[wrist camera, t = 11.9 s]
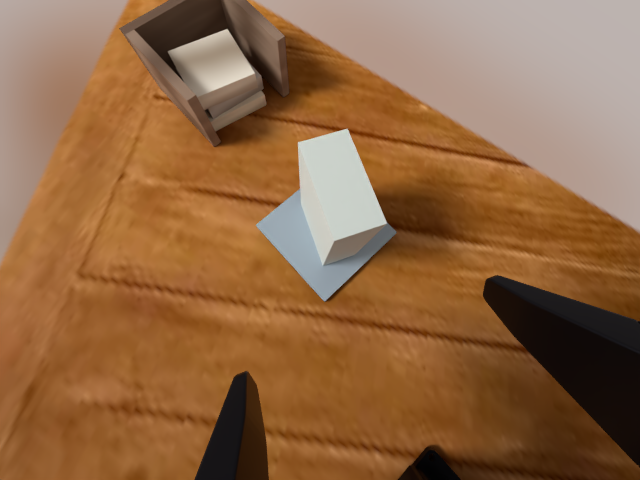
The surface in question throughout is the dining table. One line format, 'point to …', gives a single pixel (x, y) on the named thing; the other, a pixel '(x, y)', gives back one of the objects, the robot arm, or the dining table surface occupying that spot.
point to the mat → (314, 247)
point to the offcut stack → (220, 78)
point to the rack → (196, 23)
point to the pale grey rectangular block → (337, 196)
